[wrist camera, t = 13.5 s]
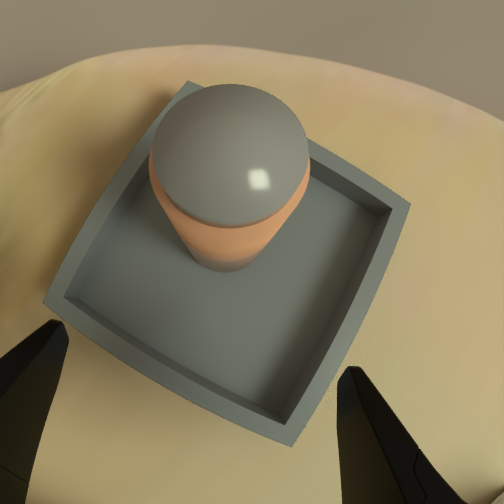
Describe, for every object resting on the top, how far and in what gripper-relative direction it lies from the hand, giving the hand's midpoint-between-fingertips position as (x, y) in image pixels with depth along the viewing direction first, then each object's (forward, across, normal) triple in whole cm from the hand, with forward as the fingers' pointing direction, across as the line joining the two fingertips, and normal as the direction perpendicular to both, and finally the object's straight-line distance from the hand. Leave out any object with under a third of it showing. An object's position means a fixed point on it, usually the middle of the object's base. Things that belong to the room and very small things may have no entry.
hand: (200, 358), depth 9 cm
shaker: (+10, 0, +1) cm, 10 cm away
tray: (+9, -1, +3) cm, 9 cm away
